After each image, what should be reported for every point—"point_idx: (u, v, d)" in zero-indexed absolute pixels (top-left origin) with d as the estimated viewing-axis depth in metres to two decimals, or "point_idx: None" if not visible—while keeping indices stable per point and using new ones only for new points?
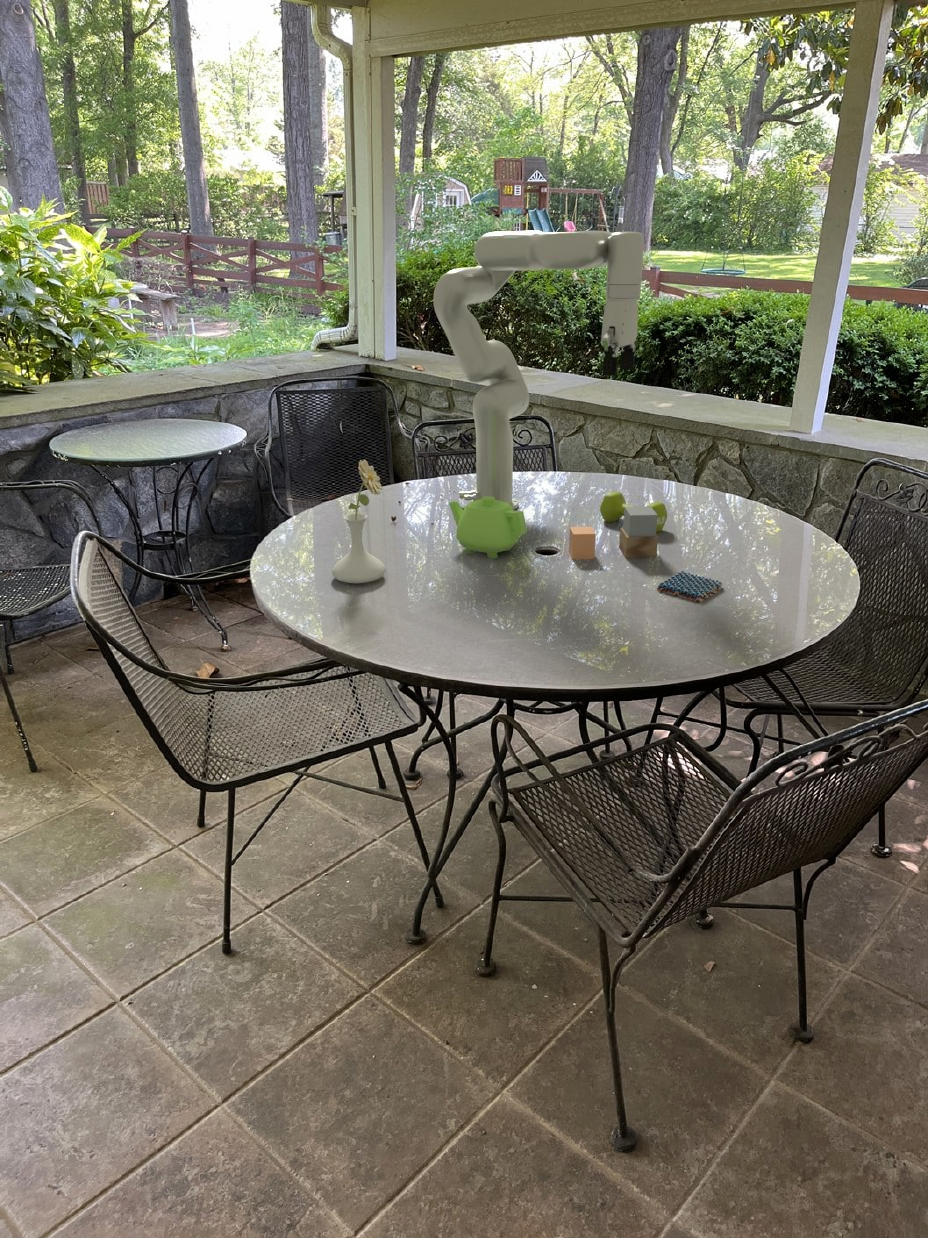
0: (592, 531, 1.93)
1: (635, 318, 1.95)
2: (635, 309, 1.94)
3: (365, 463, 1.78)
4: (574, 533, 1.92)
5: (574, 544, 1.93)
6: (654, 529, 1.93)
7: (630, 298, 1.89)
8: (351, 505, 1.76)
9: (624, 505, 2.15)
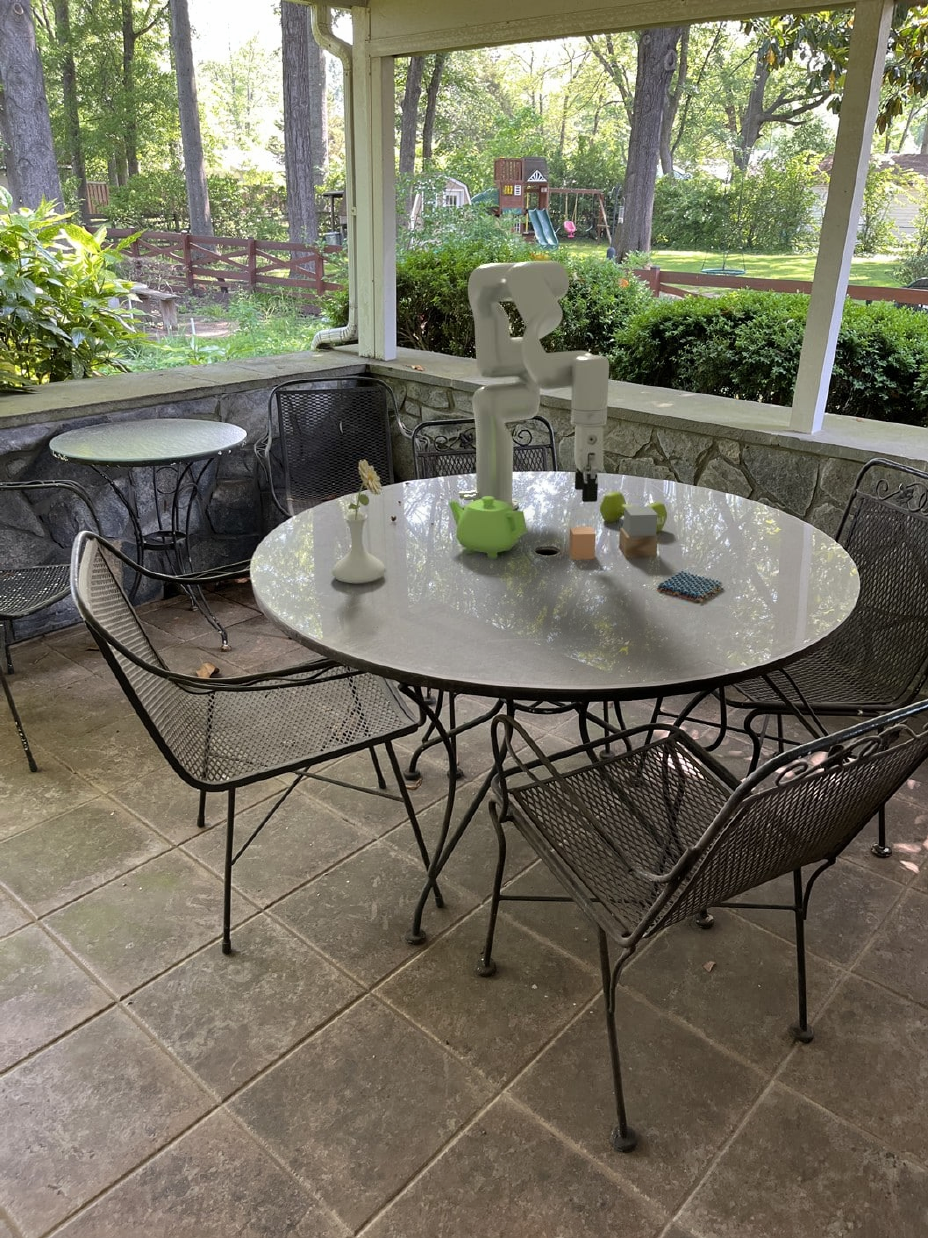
0: (592, 531, 1.93)
1: (578, 445, 1.83)
2: (578, 435, 1.83)
3: (365, 463, 1.78)
4: (574, 533, 1.92)
5: (574, 544, 1.93)
6: (654, 529, 1.93)
7: None
8: (351, 505, 1.76)
9: (624, 505, 2.15)
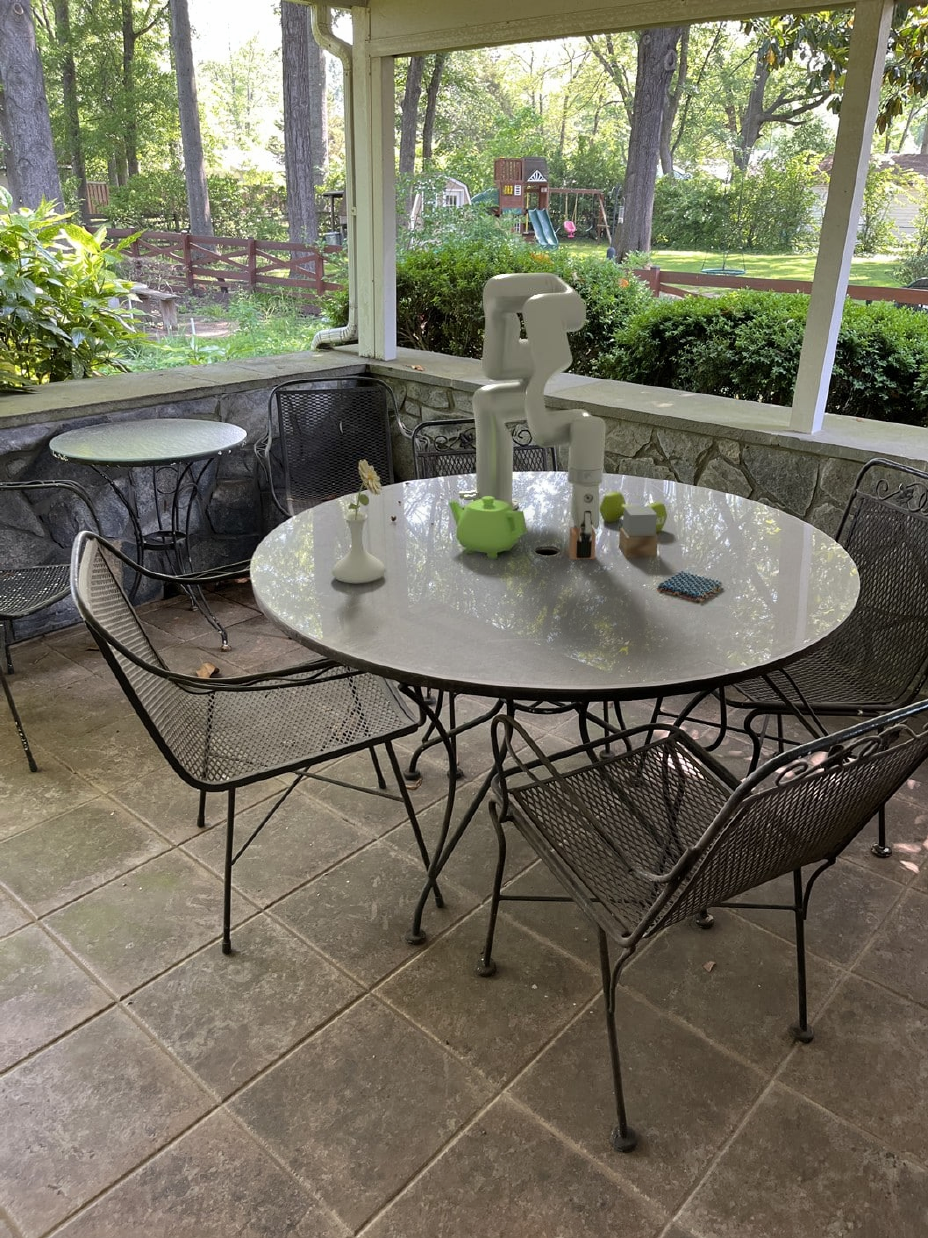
0: (592, 531, 1.93)
1: (575, 502, 1.89)
2: (574, 493, 1.89)
3: (365, 463, 1.78)
4: (574, 533, 1.92)
5: (574, 544, 1.93)
6: (654, 529, 1.93)
7: None
8: (351, 505, 1.76)
9: (624, 505, 2.14)
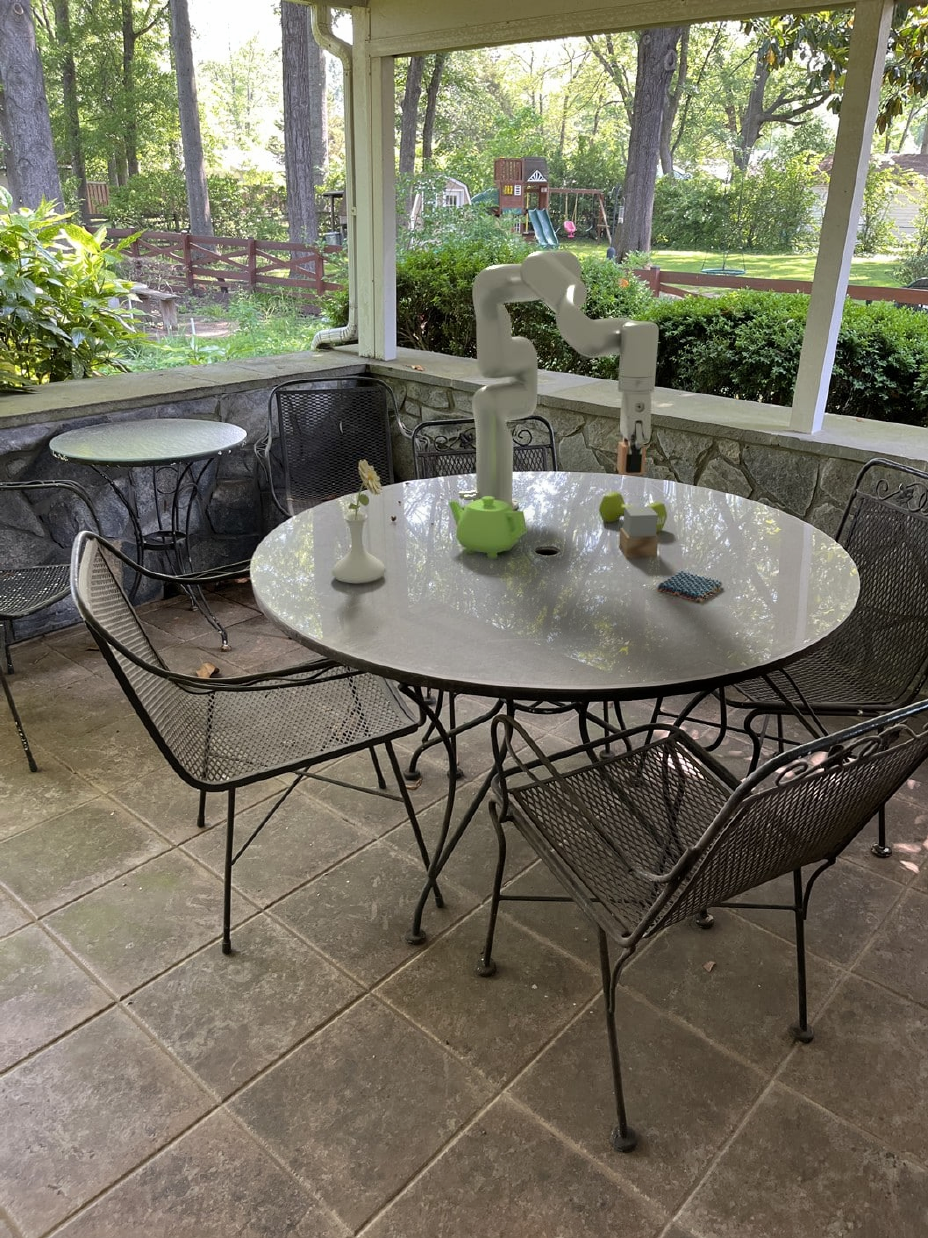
0: (642, 444, 1.86)
1: (625, 412, 1.82)
2: (625, 402, 1.82)
3: (365, 463, 1.78)
4: (624, 446, 1.85)
5: (623, 458, 1.86)
6: (654, 529, 1.93)
7: None
8: (351, 505, 1.76)
9: (623, 505, 2.14)
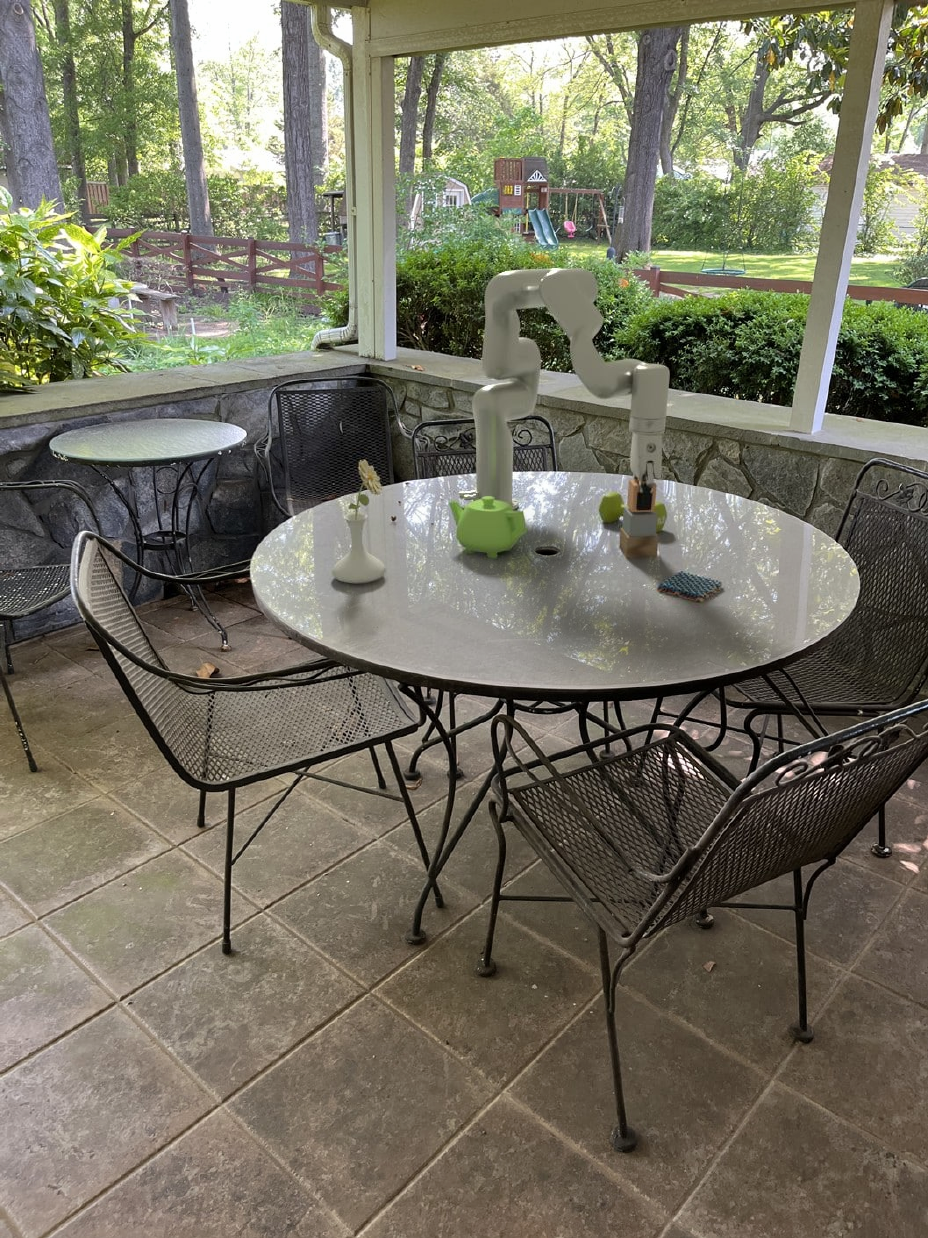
0: None
1: (636, 452, 1.86)
2: (636, 443, 1.86)
3: (365, 463, 1.78)
4: (635, 485, 1.89)
5: (634, 496, 1.90)
6: (654, 529, 1.93)
7: None
8: (351, 505, 1.76)
9: (623, 506, 2.14)
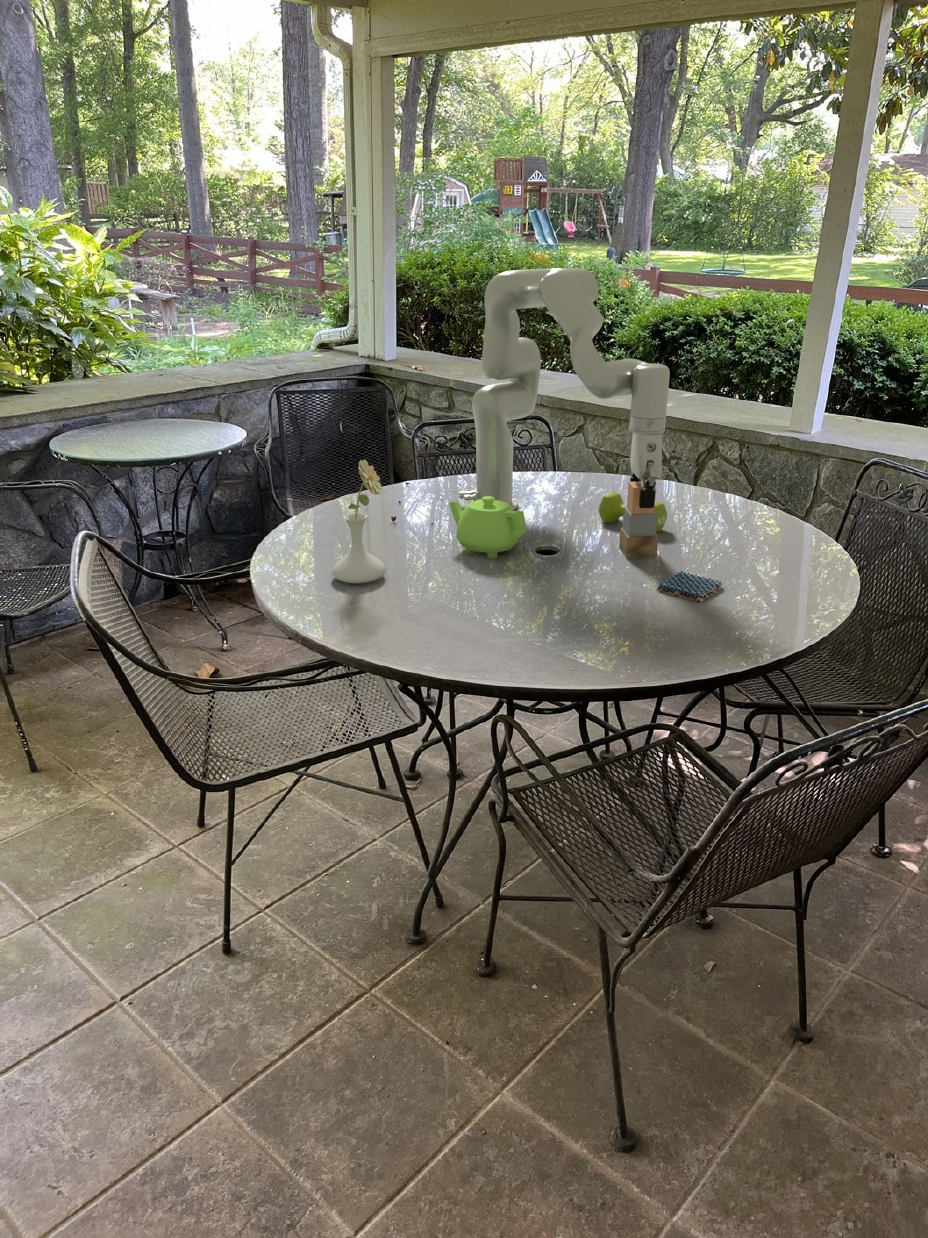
0: None
1: (636, 452, 1.86)
2: (636, 442, 1.86)
3: (365, 463, 1.78)
4: (635, 487, 1.90)
5: (634, 498, 1.90)
6: (654, 528, 1.93)
7: None
8: (351, 505, 1.76)
9: (623, 506, 2.14)
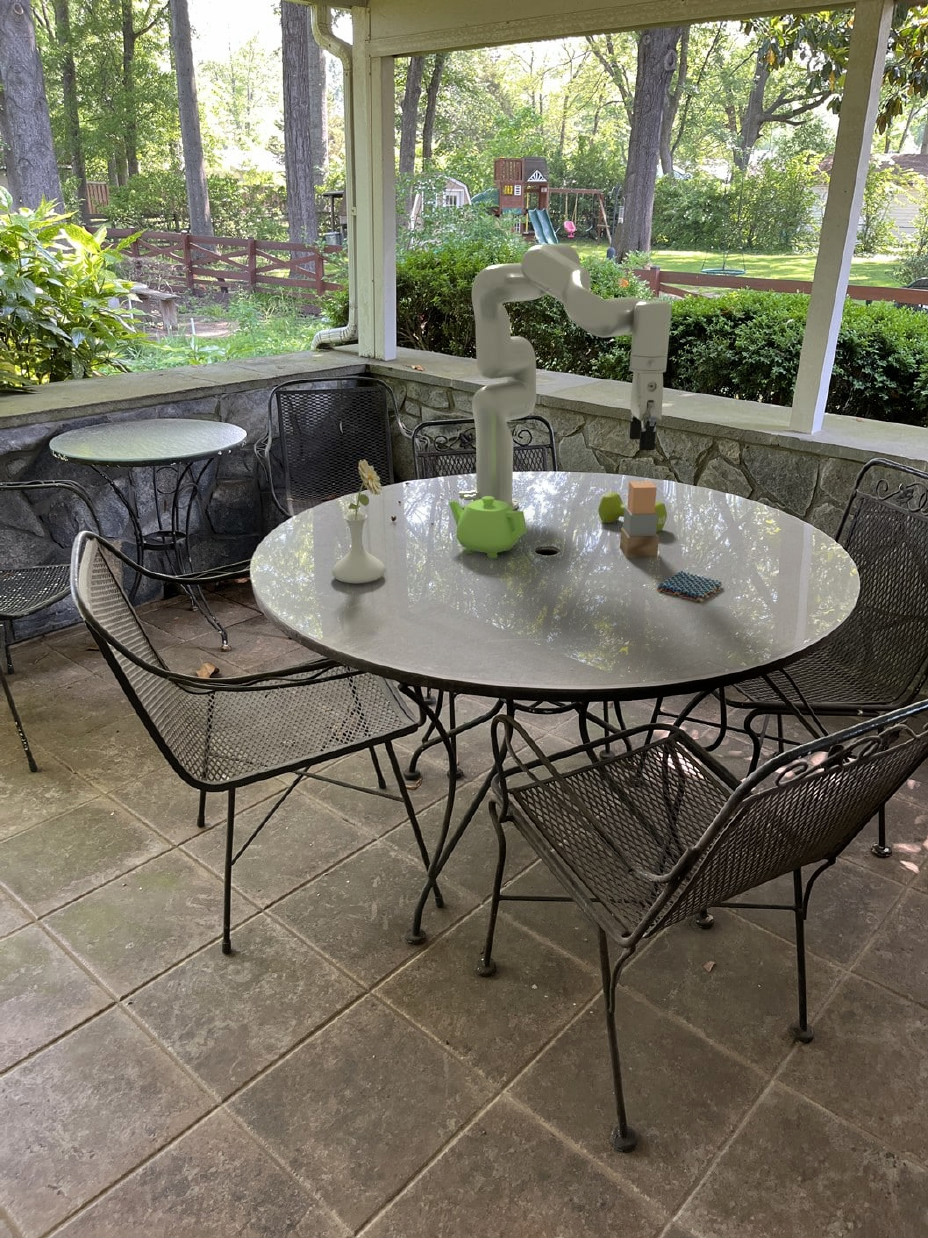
0: (653, 485, 1.91)
1: (637, 392, 1.82)
2: (637, 382, 1.82)
3: (365, 463, 1.78)
4: (635, 487, 1.90)
5: (634, 498, 1.90)
6: (654, 528, 1.93)
7: None
8: (351, 505, 1.76)
9: (623, 506, 2.14)
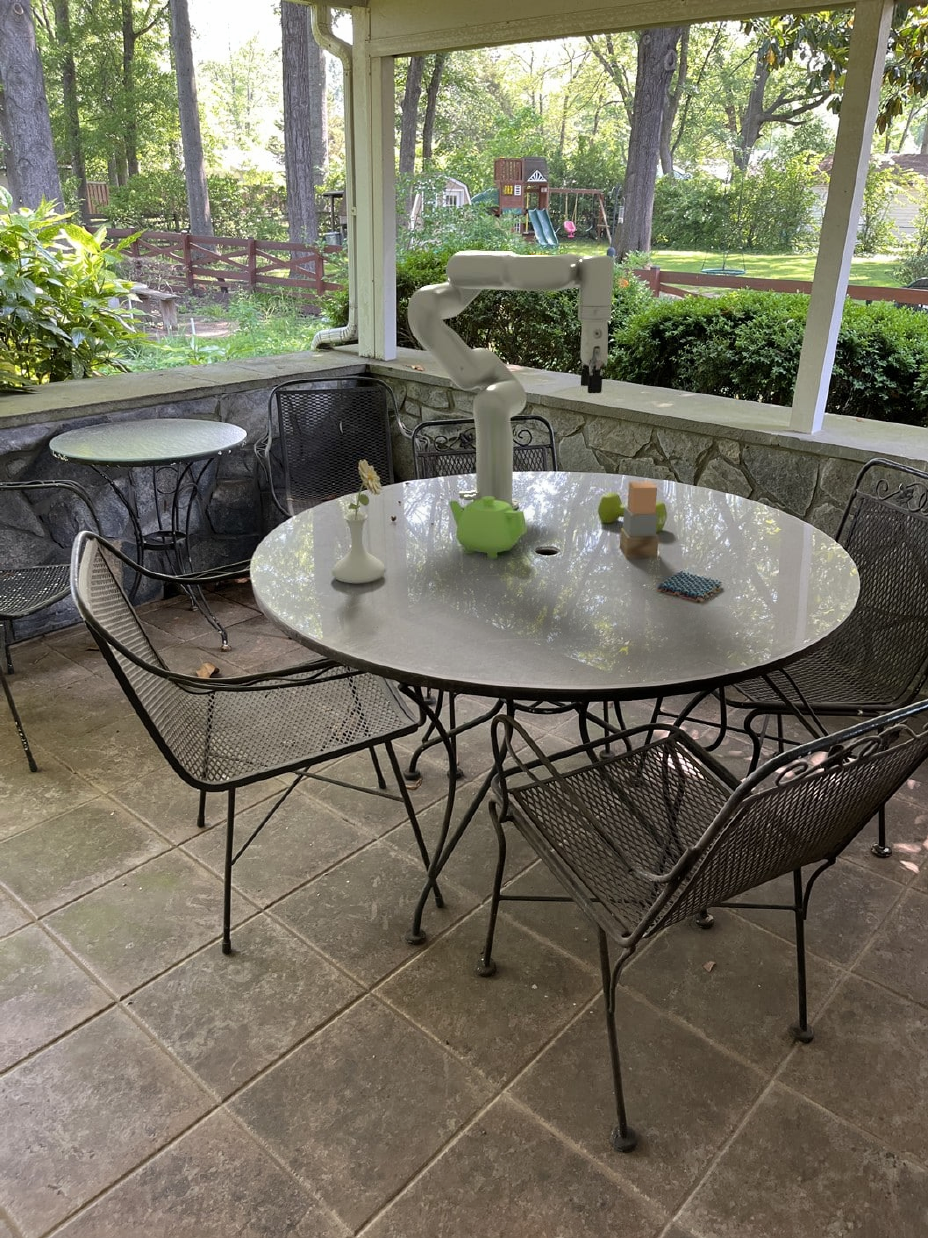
0: (653, 485, 1.91)
1: (584, 339, 2.00)
2: (584, 330, 1.99)
3: (365, 463, 1.78)
4: (636, 487, 1.89)
5: (635, 498, 1.90)
6: (654, 529, 1.93)
7: None
8: (351, 505, 1.76)
9: (622, 506, 2.14)
